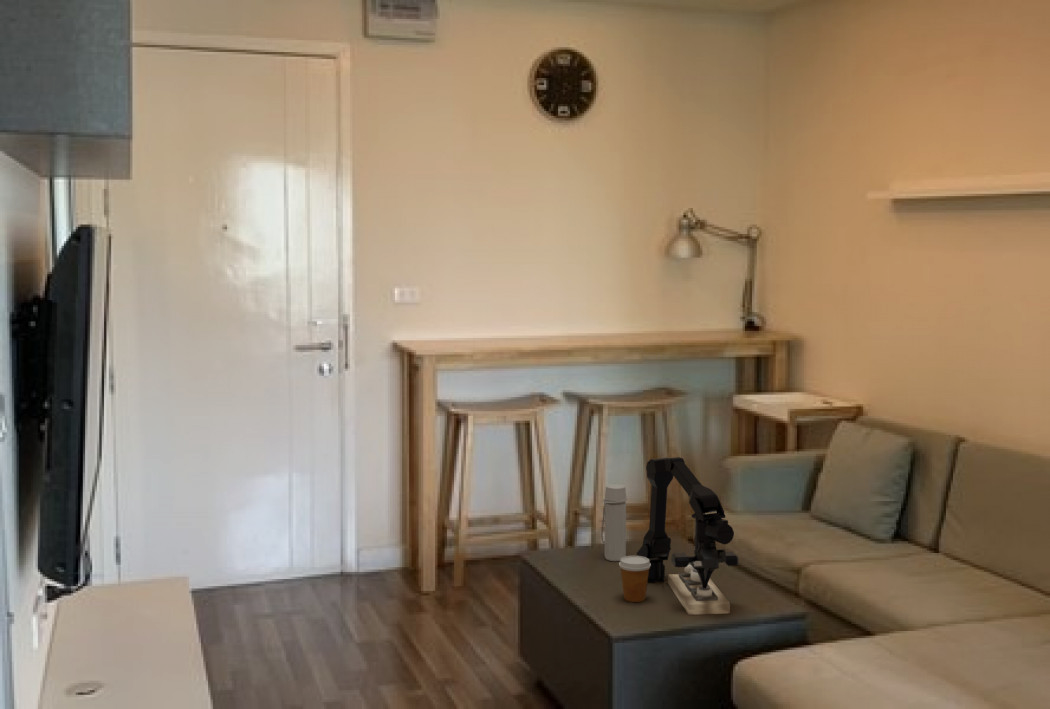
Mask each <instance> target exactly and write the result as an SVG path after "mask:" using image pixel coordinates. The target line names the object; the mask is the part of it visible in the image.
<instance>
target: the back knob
mask: <svg viewBox="0 0 1050 709" xmlns="http://www.w3.org/2000/svg"><path fill="white" fill-rule="evenodd" d="M692 569H694V568H693V567H692V565H691V564H690V563H689V565H688V566H687V567H684V572H685V573H686V574H691V570H692Z"/></svg>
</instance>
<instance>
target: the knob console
mask: <svg viewBox="0 0 1050 709" xmlns="http://www.w3.org/2000/svg"><path fill="white" fill-rule="evenodd" d="M667 584H668V586H669V587H670V589H671V590H672V591H673V593H674V595H675V597H676V598H677V599H678V600H679V603H680V604H681V605H682V607H683V608H684V610H685V612H686V613H687V615H689V616H690V615H694V616H695V615H720V614H721V615H723V614H725V615H726V614H730V612H731V611H730V610H731V604H730V602H729V600H728V599H727V598H726V597H725V595H724V594H723V593H722V592H721V590H720V589H719V588H718V587H717V585H716V584H715V583H714V582H713V580H712V579H711V578H710V579H709V582H708V584H707V586H708V587H710V588H712V597H697V587H700V586H702V584H701V581H700V582H698V581H692V580H691V573H678V574H677V573H673V574H671V573H669V574H668V575H667Z"/></svg>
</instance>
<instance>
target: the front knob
mask: <svg viewBox="0 0 1050 709" xmlns="http://www.w3.org/2000/svg"><path fill="white" fill-rule="evenodd" d="M697 597H712V588H710V587H708V586H707V587H706V588H703V587H702V586H700V587H697Z"/></svg>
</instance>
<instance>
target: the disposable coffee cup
mask: <svg viewBox="0 0 1050 709" xmlns="http://www.w3.org/2000/svg"><path fill="white" fill-rule="evenodd" d="M618 565H619V567H620V575H621V584H622V592H623V600H625V601H627V602H631V603H641V602H643V601H645V600H646V595H647V588H648V587H647V586H648V582H647V581H648V573H649V568H650V566H651V563H650V562H649V559H648V558H646V557H642V556H637V555H626V556H625V557H622V558H621V560H620V561H618Z"/></svg>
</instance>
